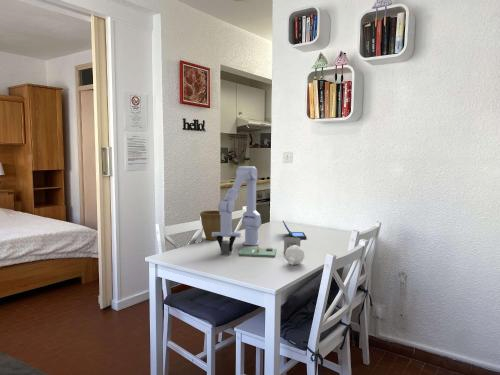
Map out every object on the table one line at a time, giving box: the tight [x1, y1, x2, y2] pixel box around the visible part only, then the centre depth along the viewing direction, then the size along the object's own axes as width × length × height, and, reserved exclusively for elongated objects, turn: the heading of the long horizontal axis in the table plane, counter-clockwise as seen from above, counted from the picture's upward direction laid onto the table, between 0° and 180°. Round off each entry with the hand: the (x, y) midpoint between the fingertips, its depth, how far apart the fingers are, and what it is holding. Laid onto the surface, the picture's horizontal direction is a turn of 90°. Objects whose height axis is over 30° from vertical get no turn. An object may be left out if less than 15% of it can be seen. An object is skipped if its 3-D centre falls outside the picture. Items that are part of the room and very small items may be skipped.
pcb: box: [238, 245, 277, 258], centre depth 196 cm, size 12×18×4 cm, turn 82°
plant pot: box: [199, 210, 221, 241], centre depth 226 cm, size 15×15×16 cm
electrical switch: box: [283, 236, 302, 254], centre depth 196 cm, size 8×5×8 cm, turn 78°
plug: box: [220, 239, 232, 256], centre depth 195 cm, size 6×4×6 cm, turn 172°
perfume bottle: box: [284, 245, 305, 266], centre depth 176 cm, size 9×9×12 cm
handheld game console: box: [282, 220, 307, 240], centre depth 233 cm, size 16×13×9 cm
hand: (226, 250), depth 195 cm, fingers closed on plug, 4 cm apart
